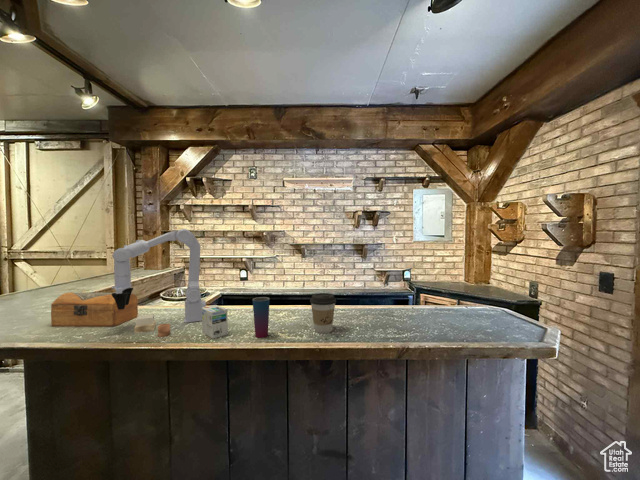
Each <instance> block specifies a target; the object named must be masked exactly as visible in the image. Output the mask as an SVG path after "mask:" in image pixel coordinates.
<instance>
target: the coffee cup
mask: <svg viewBox="0 0 640 480" xmlns="http://www.w3.org/2000/svg"><path fill="white" fill-rule="evenodd" d="M309 303H310V305H311V312H312V320H313V327H314V332H316V333H317V334H330V333H331V332H332V330H333V325H334V324H333V322H334V316H335V315H334V314H335V307H336V303H337V300H336V297H335V296H334V295H333V294H331V293H328V292H327V293H326V292H325V293H324V292H321V293H320V292H319V293H315V294H312V295H311V298H310V299H309Z"/></svg>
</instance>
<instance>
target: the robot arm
mask: <svg viewBox="0 0 640 480" xmlns="http://www.w3.org/2000/svg"><path fill="white" fill-rule="evenodd" d="M176 240H177V241H178V242H179V243H181V244H184V245H185V246H186V247H187V248H189V258H188V263H189V264H188V278H187V279H188V280H187V288H186V289H185V291H184V293H185V297H186V298H185V301H184V318H183V319H184V320H183V324H187V323H194V322H201V321H202V307H207V304H206V303H207V302H206V300H202V298H201V296H202V294H201V291H200V280H199V279H200V266H201V265H200V263H201V244H200V242H199V241H198V239H197V237H196V236H195V235H194V233H193V232H192V231H190V230H189V229H186V228H181V229H179V230H173V231H169V232H166V233H164V234H161V235H159V236H156V237H154V238H151V239H149V240H144V239H141V240H140V239H137V240H135V242H133V243H131V244H128V245H127V244H125V245H123V247H119V248H117V249H115V250H114V251H113V253H112V259H114V261H113V262H114V263H113V264H114V266H113V275H114V277H113V278H114V279H113V280H114V286H111V287H110V288H111V289H114V290H115V292H111V293H112V297H113V298H114V299H115V301H116V304H117V308H118V310H120V309H124V308H125V305H128V304H129V300H130V296H131V294H133V293H132V292H133V290H134V287H132V275H131V274H132V273H131V272H132V270H131V262H130V261H131V260H130V259H131V258H136V257H138V256H140V255H144V254H145V253H148V252H149V251H150V249H151V248H152V247H156V246H157V245H160V244H164V243H166V242H169V241H171V242H175V241H176Z"/></svg>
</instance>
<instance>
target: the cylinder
mask: <svg viewBox="0 0 640 480" xmlns="http://www.w3.org/2000/svg"><path fill="white" fill-rule="evenodd" d="M170 335H171V323H162V324H159V325H157V337H159V338H163V337H168V336H170Z"/></svg>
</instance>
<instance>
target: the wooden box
mask: <svg viewBox="0 0 640 480" xmlns="http://www.w3.org/2000/svg"><path fill="white" fill-rule="evenodd" d="M112 293H113V292H99V291H98V292H97V291H96V292H93V291H91V292H89V291H87V292H83V291H81V292H66V293H63V294H61V295H59V296H58V297H56V299H55V300H54V301H53V302H51V305H50V318H51V319H50V321H51V322H50V323H51V327H57V328H58V327H60V328H61V327H62V328H63V327H64V328H66V327H67V328H68V327H70V328H71V327H78V328H81V327H84V328H85V327H86V328H87V327H88V328H89V327H90V328H92V327H94V328H95V327H96V328H99V327H100V328H103V327H104V328H106V327H107V328H111V327H112V328H114V327H117V326H120V325H122V324H124V323H127V322H129V321H132V320H133V319H135V318H137V317H138V316H139V311H138V310H139V306H138V297H137V295H136V294H134V293H131V296H130V300H129V304H128V305H125V308H124V309H120V310H118V308H117V304H116V301H115V299H114V298H113V297H112Z"/></svg>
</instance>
